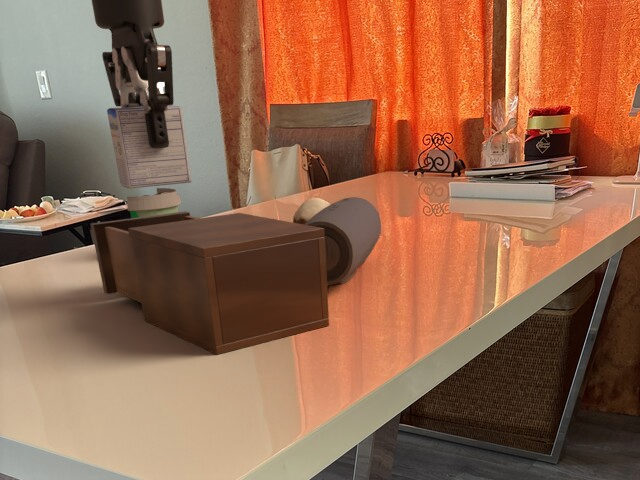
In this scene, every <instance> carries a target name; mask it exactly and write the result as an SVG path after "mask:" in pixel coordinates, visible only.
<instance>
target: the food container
mask: <svg viewBox="0 0 640 480" xmlns="http://www.w3.org/2000/svg"><path fill="white" fill-rule="evenodd" d="M177 191H178V190H177V189H175V188H170V187H169V188H167V187H156V193H155V194H143V195H139V196H138V195H135V196H126V200H127V201H126V205H127V211H129V214H130V219H131V218H138V217H146V216H154V215H161V214H169V213H176V212H179V205H182V200H181V197H180V194H179V193H178V192H177Z"/></svg>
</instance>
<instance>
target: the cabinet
mask: <svg viewBox="0 0 640 480" xmlns="http://www.w3.org/2000/svg"><path fill="white" fill-rule="evenodd" d="M198 218H199V219H192V220H184V221H177V222H170V223H163V224H156V225H149V226H141V227H134V228H128V230H129V236H130V242H131V247H132V253H133V258H134V264H135V269H136V275H137V281H138V286H139V292H140V297H141V302H140V304H141V308H142V314H143V319H144V322H146V323H148V324H151V325H153V326H154V327H157V328H159V329H162V330H163V331H165V332H168V333H170V334H172V335H174V336H176V337H178V338H180V339H183V340H185V341H187V342H189V343H191V344H193V345H196V346H197V347H199V348H202V349H203V350H206V351H209V352H211V353H213V354H215V355H221V354H224V353H228V352H232V351H233V352H234V351H237V350H240V349H243V348H248V347H251V346H256V345H260V344H263V343H267V342H271V341H274V340H279V339H283V338H286V337H290V336H294V335H298V334H301V333H305V332H309V331H314V330H317V329H320V328H325V327H329V326H330V316H329V315H330V313H329V296H328V285H327V275H326V256H325V238H324V228H320V227H314V226H309V225H303V224H298V223H293V221H286V220H281V219H275V218H270V217H264V216H259V215H253V214H248V213H243V212H236V213H227V214H222V215H214V216H207V217H198Z"/></svg>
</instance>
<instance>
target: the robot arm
mask: <svg viewBox="0 0 640 480" xmlns="http://www.w3.org/2000/svg"><path fill="white" fill-rule="evenodd" d="M162 2H163V1H162V0H91V5H92V10H93V11H92V12H93V16H94V21H95V24H96V26H97V27H98V28H100V29H103V30H109V31H110V34H111V51H102V55H101V56H102V61H103V64H104V68H105V72H106V77H107V81H108V83H109V88H110V91H111V95H112V100H113V102H114V105H115V107H116V108H124V107H144V110H145V112H148V113H144V114H145V120H146V126H147V132H148V139H149V145H150V147H152V148H167V147H168V146H169V139H168V133H167V126H166V119H165V113H164V111H167V106H168V105H174V99H175V98H174V76H173V75H174V74H173V51H172V47H171V46H170V45H169V44H158V41H157V38H156V35H155V32H154V31H155V29H160V28H162V27H163V26H164V25H165V17H164V10H163V9H164V8H163V3H162Z"/></svg>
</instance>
